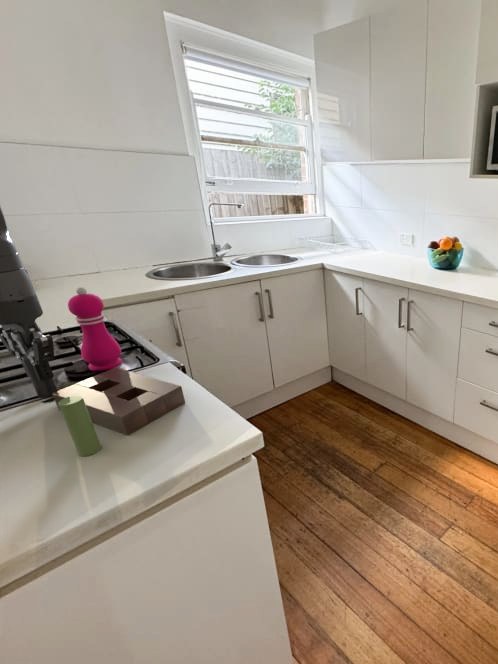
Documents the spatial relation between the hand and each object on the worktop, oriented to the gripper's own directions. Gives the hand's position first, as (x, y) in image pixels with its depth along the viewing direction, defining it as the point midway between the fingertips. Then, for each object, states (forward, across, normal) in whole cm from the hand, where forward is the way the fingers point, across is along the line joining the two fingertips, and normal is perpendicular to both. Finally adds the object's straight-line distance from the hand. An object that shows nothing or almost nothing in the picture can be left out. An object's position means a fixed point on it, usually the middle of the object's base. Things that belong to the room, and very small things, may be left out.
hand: (41, 377), depth 76 cm
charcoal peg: (+5, 0, 0) cm, 5 cm away
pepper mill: (+5, -3, +13) cm, 14 cm away
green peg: (+5, +24, -7) cm, 26 cm away
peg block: (+5, +16, +4) cm, 17 cm away
